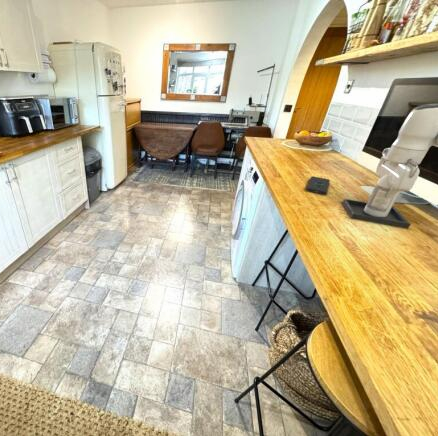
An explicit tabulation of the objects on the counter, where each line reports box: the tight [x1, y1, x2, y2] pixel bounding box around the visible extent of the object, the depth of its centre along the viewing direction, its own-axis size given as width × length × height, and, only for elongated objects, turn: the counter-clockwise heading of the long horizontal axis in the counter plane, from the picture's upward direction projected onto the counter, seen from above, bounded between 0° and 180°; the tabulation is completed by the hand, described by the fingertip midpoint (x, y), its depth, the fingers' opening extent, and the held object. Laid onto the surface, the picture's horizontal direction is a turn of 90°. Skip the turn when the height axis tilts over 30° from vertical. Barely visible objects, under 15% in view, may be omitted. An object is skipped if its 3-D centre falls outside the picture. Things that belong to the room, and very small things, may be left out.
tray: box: [341, 198, 412, 229], centre depth 92 cm, size 17×15×2 cm
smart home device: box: [305, 175, 331, 196], centre depth 116 cm, size 8×2×20 cm
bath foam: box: [364, 175, 401, 217], centre depth 87 cm, size 7×7×20 cm
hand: (383, 193), depth 88 cm, fingers closed on bath foam, 7 cm apart
